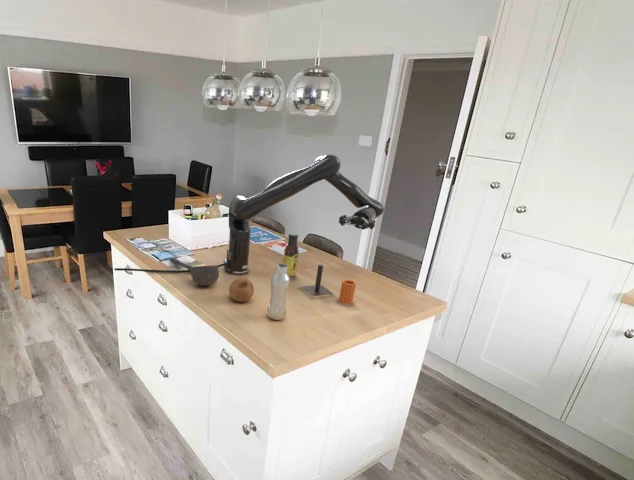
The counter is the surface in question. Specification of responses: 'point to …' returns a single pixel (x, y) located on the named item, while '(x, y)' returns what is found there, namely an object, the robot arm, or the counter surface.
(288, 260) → the sauce bottle
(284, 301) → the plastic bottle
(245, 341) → the counter surface
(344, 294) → the orange grooved tube
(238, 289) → the onion
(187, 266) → the ladle
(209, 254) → the counter surface
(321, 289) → the stand
